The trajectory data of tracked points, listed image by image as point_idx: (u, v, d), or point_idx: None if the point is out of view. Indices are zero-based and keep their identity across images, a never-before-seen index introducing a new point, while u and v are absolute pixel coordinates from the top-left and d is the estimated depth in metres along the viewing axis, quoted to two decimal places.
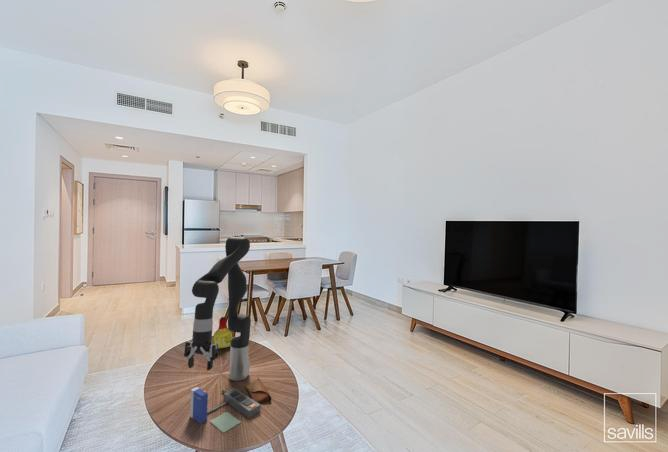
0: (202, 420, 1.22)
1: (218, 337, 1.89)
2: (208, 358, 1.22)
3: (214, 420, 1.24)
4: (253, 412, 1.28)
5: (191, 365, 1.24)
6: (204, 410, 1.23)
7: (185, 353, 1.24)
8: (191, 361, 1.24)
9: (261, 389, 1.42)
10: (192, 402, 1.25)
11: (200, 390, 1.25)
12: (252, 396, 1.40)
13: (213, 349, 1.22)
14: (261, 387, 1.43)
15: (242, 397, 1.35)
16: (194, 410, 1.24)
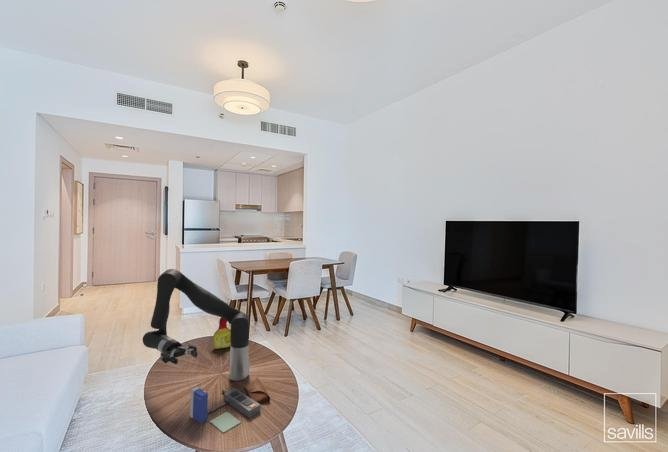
0: (202, 420, 1.22)
1: (218, 337, 1.89)
2: None
3: (214, 420, 1.24)
4: (253, 412, 1.28)
5: (194, 355, 1.35)
6: (204, 410, 1.23)
7: None
8: (192, 354, 1.36)
9: (260, 389, 1.42)
10: (192, 402, 1.25)
11: (200, 390, 1.25)
12: (251, 396, 1.39)
13: None
14: (260, 387, 1.43)
15: (242, 397, 1.35)
16: (194, 410, 1.24)
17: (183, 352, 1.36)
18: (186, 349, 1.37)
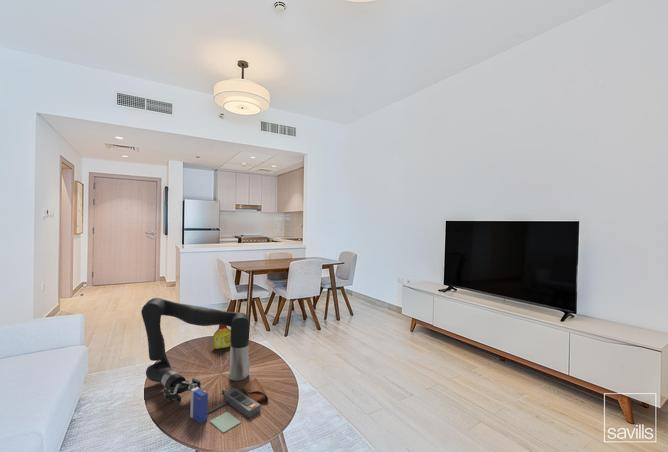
0: (202, 420, 1.22)
1: (218, 337, 1.89)
2: None
3: (214, 420, 1.24)
4: (253, 412, 1.28)
5: None
6: (204, 410, 1.23)
7: None
8: None
9: (258, 390, 1.41)
10: (192, 402, 1.25)
11: (200, 390, 1.25)
12: None
13: None
14: (258, 388, 1.43)
15: (242, 397, 1.35)
16: (194, 410, 1.24)
17: (187, 387, 1.34)
18: (190, 384, 1.35)
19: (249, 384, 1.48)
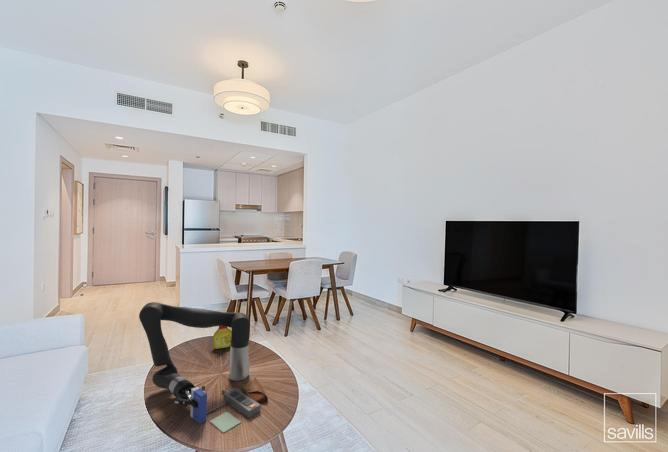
0: (201, 420, 1.22)
1: (218, 337, 1.89)
2: None
3: (214, 420, 1.24)
4: (253, 412, 1.28)
5: None
6: (203, 410, 1.23)
7: None
8: None
9: (258, 389, 1.41)
10: None
11: (200, 390, 1.25)
12: (249, 396, 1.39)
13: None
14: (258, 387, 1.43)
15: (242, 397, 1.35)
16: (194, 410, 1.24)
17: None
18: None
19: (249, 384, 1.48)
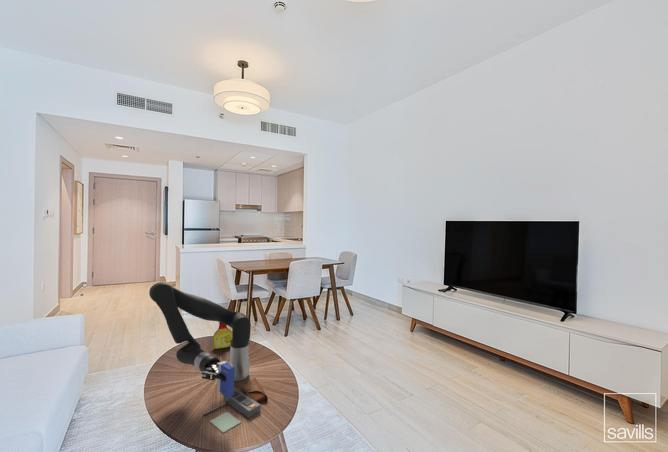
0: (229, 394, 1.20)
1: (218, 337, 1.89)
2: None
3: (214, 420, 1.24)
4: (253, 412, 1.28)
5: None
6: (231, 384, 1.21)
7: None
8: None
9: (257, 389, 1.42)
10: None
11: (227, 364, 1.23)
12: (248, 396, 1.39)
13: None
14: (257, 387, 1.43)
15: (242, 397, 1.35)
16: (221, 384, 1.22)
17: None
18: None
19: (248, 384, 1.48)
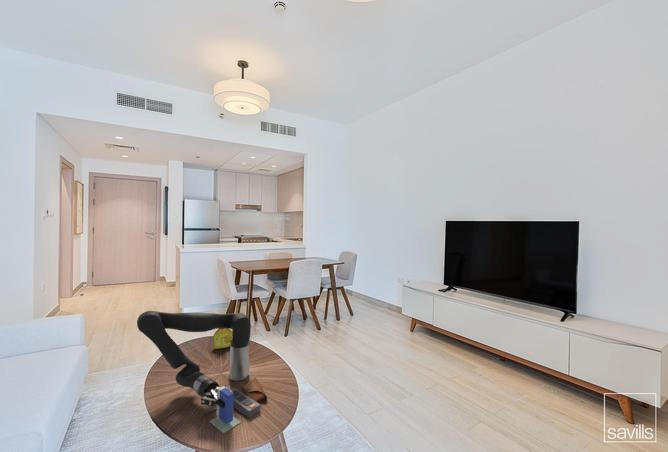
0: (228, 420, 1.20)
1: (218, 337, 1.89)
2: None
3: (214, 420, 1.24)
4: (253, 412, 1.28)
5: None
6: (230, 410, 1.21)
7: None
8: None
9: (257, 389, 1.42)
10: None
11: (226, 390, 1.24)
12: (248, 396, 1.39)
13: None
14: (257, 387, 1.43)
15: (242, 397, 1.35)
16: (220, 410, 1.23)
17: None
18: None
19: (249, 383, 1.49)
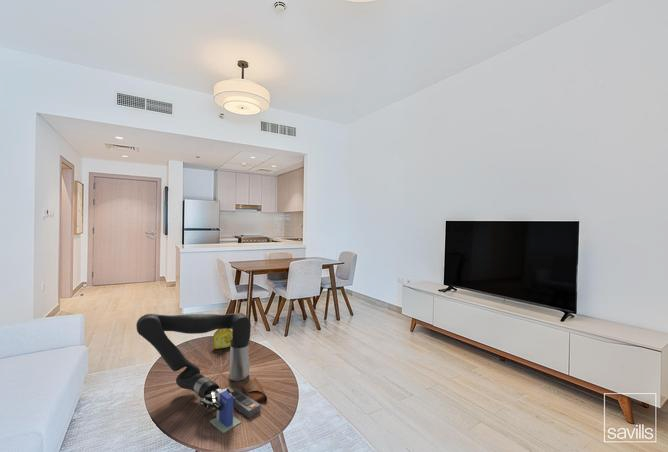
0: (228, 423, 1.20)
1: (218, 337, 1.89)
2: None
3: (214, 420, 1.24)
4: (253, 412, 1.28)
5: None
6: (230, 413, 1.21)
7: None
8: None
9: (257, 389, 1.42)
10: None
11: (226, 393, 1.24)
12: (248, 396, 1.40)
13: None
14: (257, 387, 1.43)
15: (242, 397, 1.35)
16: (220, 413, 1.23)
17: None
18: None
19: (249, 383, 1.49)
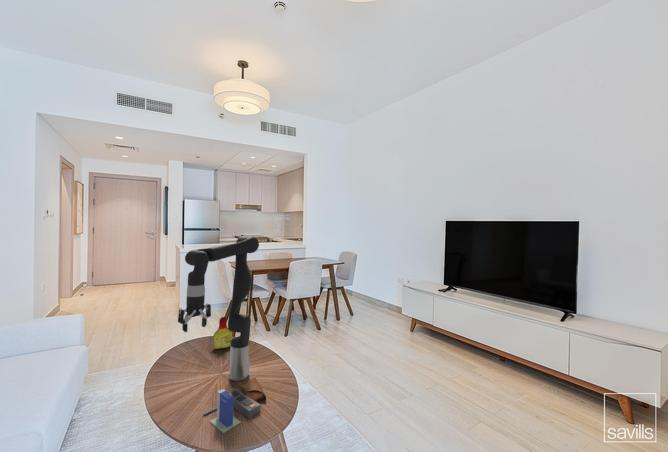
0: (228, 423, 1.20)
1: (218, 337, 1.89)
2: (205, 316, 1.39)
3: (214, 420, 1.24)
4: (253, 412, 1.28)
5: None
6: (230, 413, 1.21)
7: (181, 320, 1.30)
8: None
9: (256, 389, 1.42)
10: (218, 404, 1.24)
11: (226, 393, 1.24)
12: (247, 395, 1.40)
13: (209, 307, 1.40)
14: (256, 387, 1.44)
15: (242, 397, 1.35)
16: (220, 413, 1.23)
17: None
18: (187, 317, 1.35)
19: (248, 383, 1.49)
